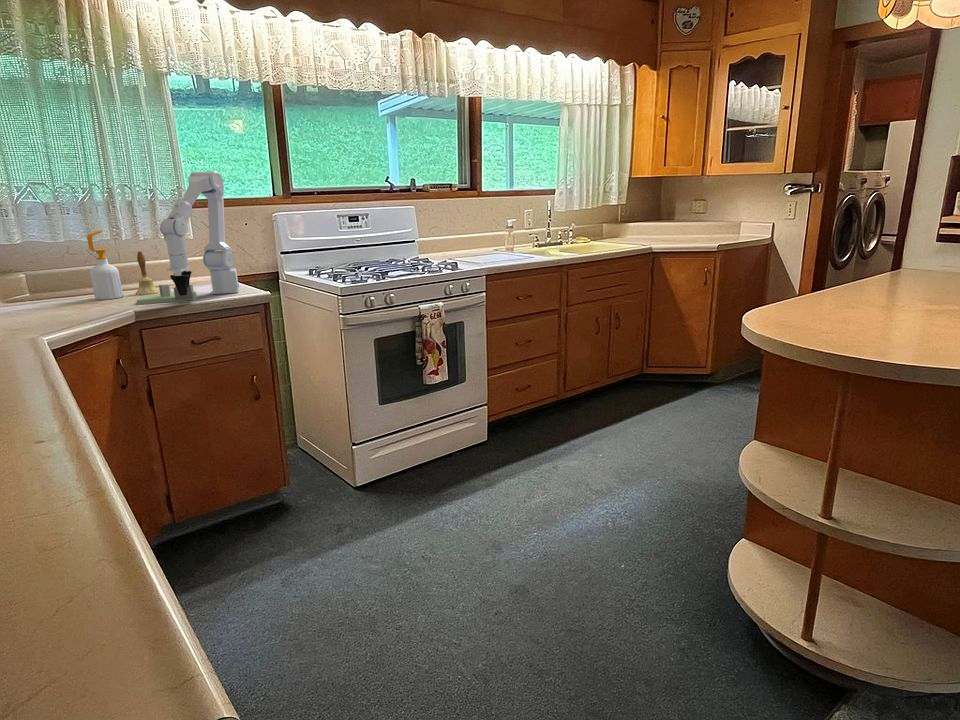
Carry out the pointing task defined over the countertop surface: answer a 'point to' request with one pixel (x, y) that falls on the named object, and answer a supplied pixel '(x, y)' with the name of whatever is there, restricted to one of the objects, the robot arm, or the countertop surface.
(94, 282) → the soap bottle
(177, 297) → the collar
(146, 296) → the post board
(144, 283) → the hand bell
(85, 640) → the countertop surface
